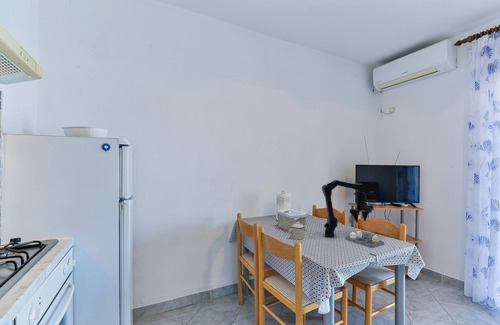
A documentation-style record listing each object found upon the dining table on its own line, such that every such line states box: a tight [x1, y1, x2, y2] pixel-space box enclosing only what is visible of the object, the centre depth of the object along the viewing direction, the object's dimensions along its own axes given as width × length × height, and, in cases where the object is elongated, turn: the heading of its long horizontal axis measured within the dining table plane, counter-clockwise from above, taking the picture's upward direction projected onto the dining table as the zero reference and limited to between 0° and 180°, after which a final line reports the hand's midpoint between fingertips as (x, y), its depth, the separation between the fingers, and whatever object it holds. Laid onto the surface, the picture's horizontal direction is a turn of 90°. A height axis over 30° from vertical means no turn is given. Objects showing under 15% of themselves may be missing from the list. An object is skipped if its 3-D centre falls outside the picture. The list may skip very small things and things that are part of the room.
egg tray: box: [345, 234, 385, 249], centre depth 169 cm, size 14×20×3 cm
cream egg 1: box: [349, 231, 356, 239], centre depth 173 cm, size 4×4×6 cm
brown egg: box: [371, 234, 380, 243], centre depth 165 cm, size 4×4×6 cm
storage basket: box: [276, 208, 307, 233], centre depth 207 cm, size 24×16×15 cm
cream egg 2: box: [355, 230, 363, 238], centre depth 176 cm, size 4×4×6 cm
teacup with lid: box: [288, 222, 305, 240], centre depth 181 cm, size 12×9×12 cm
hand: (360, 221), depth 181 cm, fingers open, 9 cm apart
